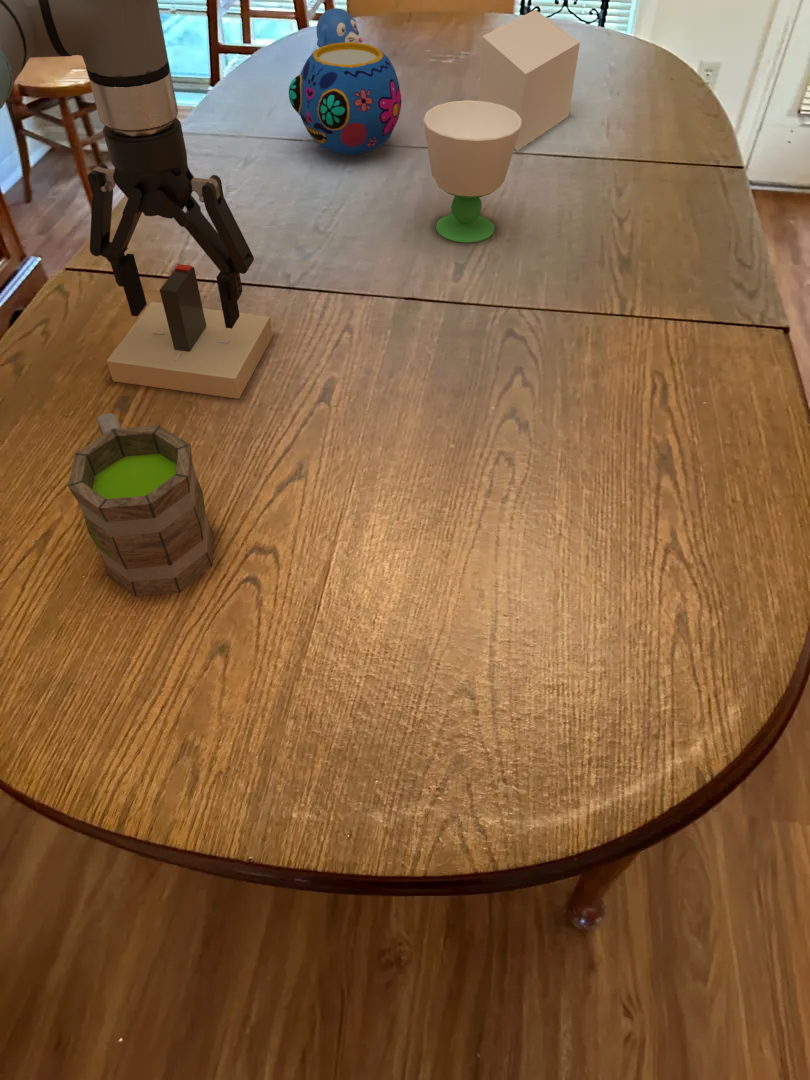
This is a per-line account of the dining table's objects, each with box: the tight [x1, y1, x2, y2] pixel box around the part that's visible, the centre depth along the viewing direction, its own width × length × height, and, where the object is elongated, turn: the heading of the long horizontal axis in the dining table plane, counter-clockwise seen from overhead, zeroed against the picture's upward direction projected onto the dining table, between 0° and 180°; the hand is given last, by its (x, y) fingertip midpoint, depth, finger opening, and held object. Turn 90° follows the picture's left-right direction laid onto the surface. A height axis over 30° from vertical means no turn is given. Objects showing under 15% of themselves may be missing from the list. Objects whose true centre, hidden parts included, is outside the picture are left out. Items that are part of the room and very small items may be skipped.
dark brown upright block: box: [159, 263, 206, 351], centre depth 93 cm, size 6×2×8 cm, turn 169°
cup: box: [422, 99, 522, 244], centre depth 114 cm, size 14×14×16 cm
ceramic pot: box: [288, 42, 402, 156], centre depth 133 cm, size 18×18×15 cm
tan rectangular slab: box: [106, 301, 273, 400], centre depth 97 cm, size 16×13×3 cm
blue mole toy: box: [315, 7, 364, 49], centre depth 166 cm, size 12×12×8 cm
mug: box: [67, 412, 215, 597], centre depth 74 cm, size 16×11×12 cm
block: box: [477, 9, 581, 152], centre depth 146 cm, size 18×35×12 cm, turn 171°
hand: (185, 315), depth 93 cm, fingers open, 11 cm apart
